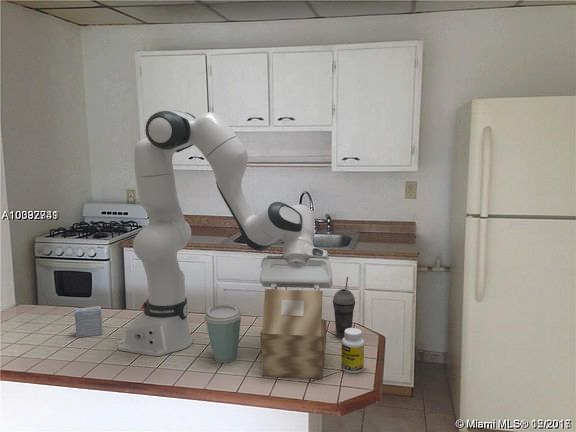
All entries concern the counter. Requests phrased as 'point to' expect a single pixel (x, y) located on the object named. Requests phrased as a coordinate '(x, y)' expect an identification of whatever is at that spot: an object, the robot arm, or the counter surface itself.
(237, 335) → the disposable coffee cup
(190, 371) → the counter surface
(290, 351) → the cardboard carton
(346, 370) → the pill bottle
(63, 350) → the counter surface
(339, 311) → the beverage cup
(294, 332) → the lid flap
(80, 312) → the grey upright block
